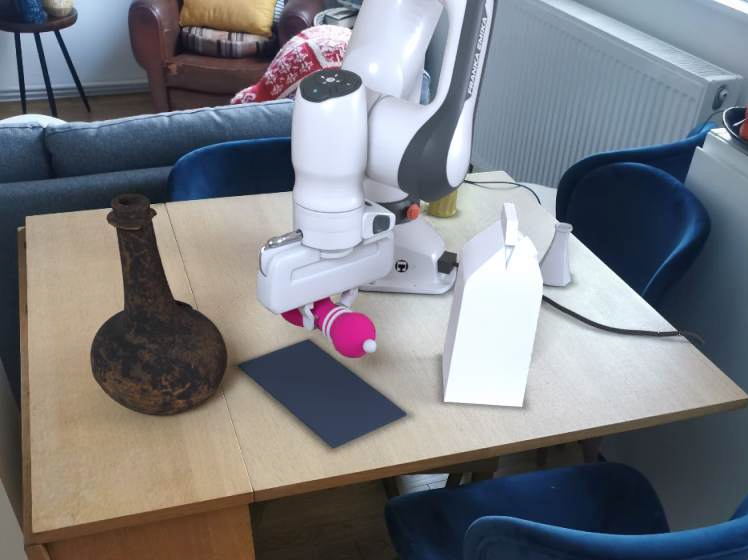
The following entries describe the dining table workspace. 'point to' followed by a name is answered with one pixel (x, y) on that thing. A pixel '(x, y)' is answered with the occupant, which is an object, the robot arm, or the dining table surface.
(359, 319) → the pepper mill
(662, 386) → the dining table surface
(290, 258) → the robot arm
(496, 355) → the milk
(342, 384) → the mat
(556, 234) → the flask
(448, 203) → the vase
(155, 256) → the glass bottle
